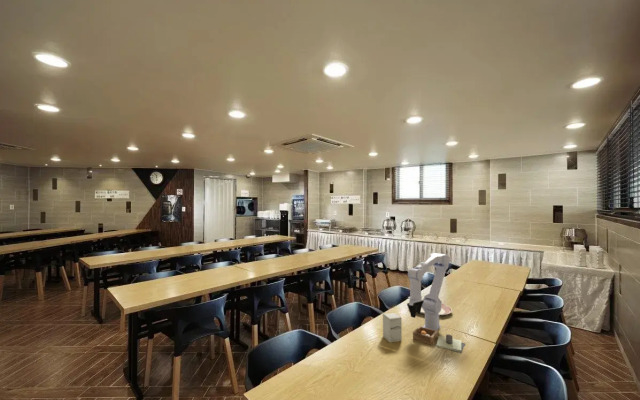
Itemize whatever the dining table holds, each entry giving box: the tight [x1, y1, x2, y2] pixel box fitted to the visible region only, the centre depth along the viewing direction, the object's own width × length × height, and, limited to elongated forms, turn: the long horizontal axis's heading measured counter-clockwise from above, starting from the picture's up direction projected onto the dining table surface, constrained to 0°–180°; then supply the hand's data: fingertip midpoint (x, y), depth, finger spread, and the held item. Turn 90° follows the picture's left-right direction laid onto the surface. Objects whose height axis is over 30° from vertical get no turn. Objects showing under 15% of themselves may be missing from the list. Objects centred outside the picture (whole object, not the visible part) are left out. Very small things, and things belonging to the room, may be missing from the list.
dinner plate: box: [420, 303, 453, 317], centre depth 187 cm, size 27×27×3 cm
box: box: [412, 325, 439, 346], centre depth 146 cm, size 10×10×4 cm
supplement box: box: [382, 312, 403, 343], centre depth 146 cm, size 7×7×13 cm
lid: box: [436, 334, 463, 353], centre depth 139 cm, size 11×11×4 cm
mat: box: [434, 342, 466, 354], centre depth 139 cm, size 12×12×1 cm
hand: (415, 315), depth 152 cm, fingers open, 7 cm apart
